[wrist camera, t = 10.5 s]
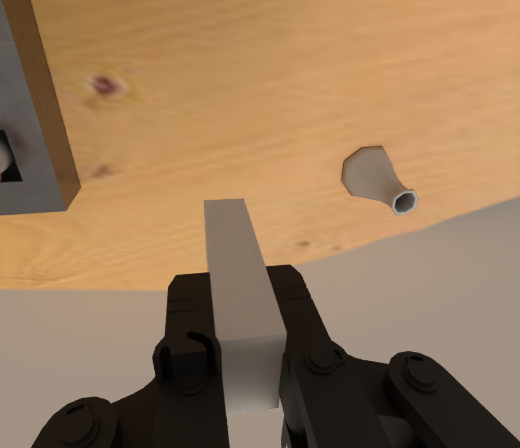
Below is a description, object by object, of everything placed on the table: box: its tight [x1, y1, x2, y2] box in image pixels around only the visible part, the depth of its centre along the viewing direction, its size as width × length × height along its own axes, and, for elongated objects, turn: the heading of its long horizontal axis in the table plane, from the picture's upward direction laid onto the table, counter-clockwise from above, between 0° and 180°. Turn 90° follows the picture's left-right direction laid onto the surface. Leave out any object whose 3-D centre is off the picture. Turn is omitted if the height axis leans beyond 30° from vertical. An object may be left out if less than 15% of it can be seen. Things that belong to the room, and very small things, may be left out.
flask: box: [342, 146, 418, 216], centre depth 42 cm, size 7×7×10 cm
